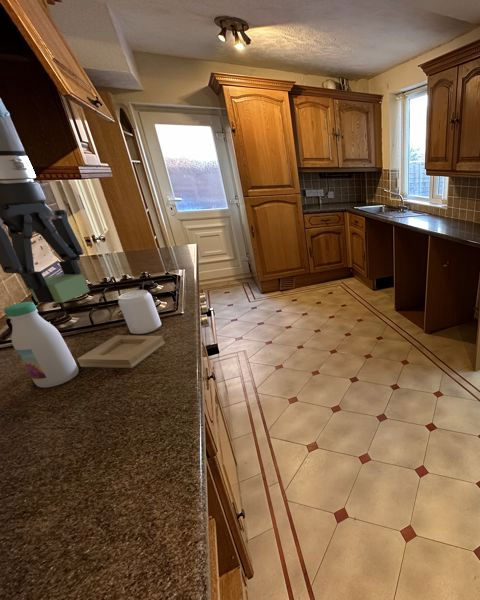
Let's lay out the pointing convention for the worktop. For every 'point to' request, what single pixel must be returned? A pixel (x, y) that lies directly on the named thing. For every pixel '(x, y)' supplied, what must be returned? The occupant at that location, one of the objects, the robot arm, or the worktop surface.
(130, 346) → the base pad
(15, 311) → the milk bottle
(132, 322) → the white cylindrical container
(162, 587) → the worktop surface
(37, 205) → the robot arm
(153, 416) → the worktop surface
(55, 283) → the green block
